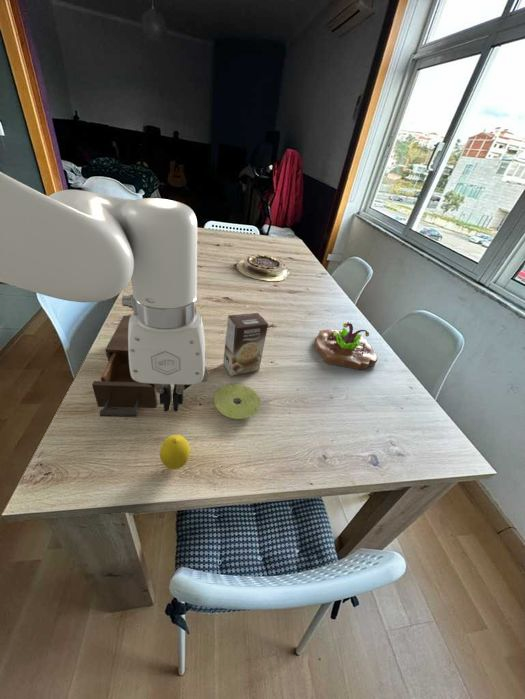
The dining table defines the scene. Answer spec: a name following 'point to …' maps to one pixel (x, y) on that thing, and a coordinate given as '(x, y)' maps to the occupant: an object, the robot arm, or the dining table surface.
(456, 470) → the dining table surface
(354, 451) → the dining table surface
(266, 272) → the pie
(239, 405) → the green disc
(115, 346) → the cabinet
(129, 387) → the drawer
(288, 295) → the dining table surface
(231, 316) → the coffee box
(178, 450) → the lemon
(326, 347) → the plant
